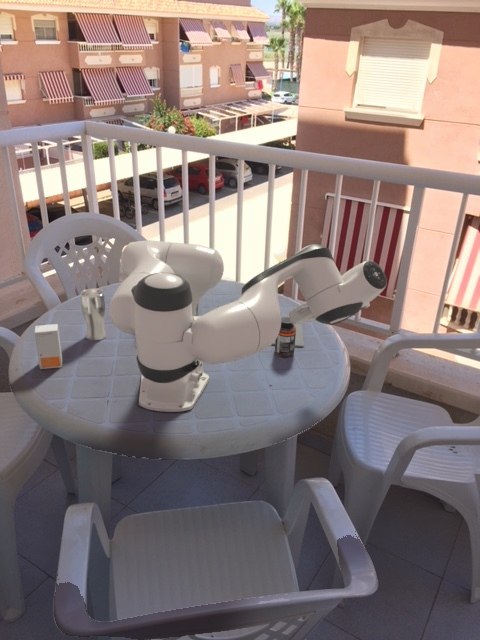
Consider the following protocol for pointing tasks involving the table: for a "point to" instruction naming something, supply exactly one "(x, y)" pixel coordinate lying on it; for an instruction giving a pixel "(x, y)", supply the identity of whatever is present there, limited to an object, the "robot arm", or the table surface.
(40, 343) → the skincare box
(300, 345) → the rubber mat
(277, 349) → the supplement bottle
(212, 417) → the table surface
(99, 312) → the beer glass
